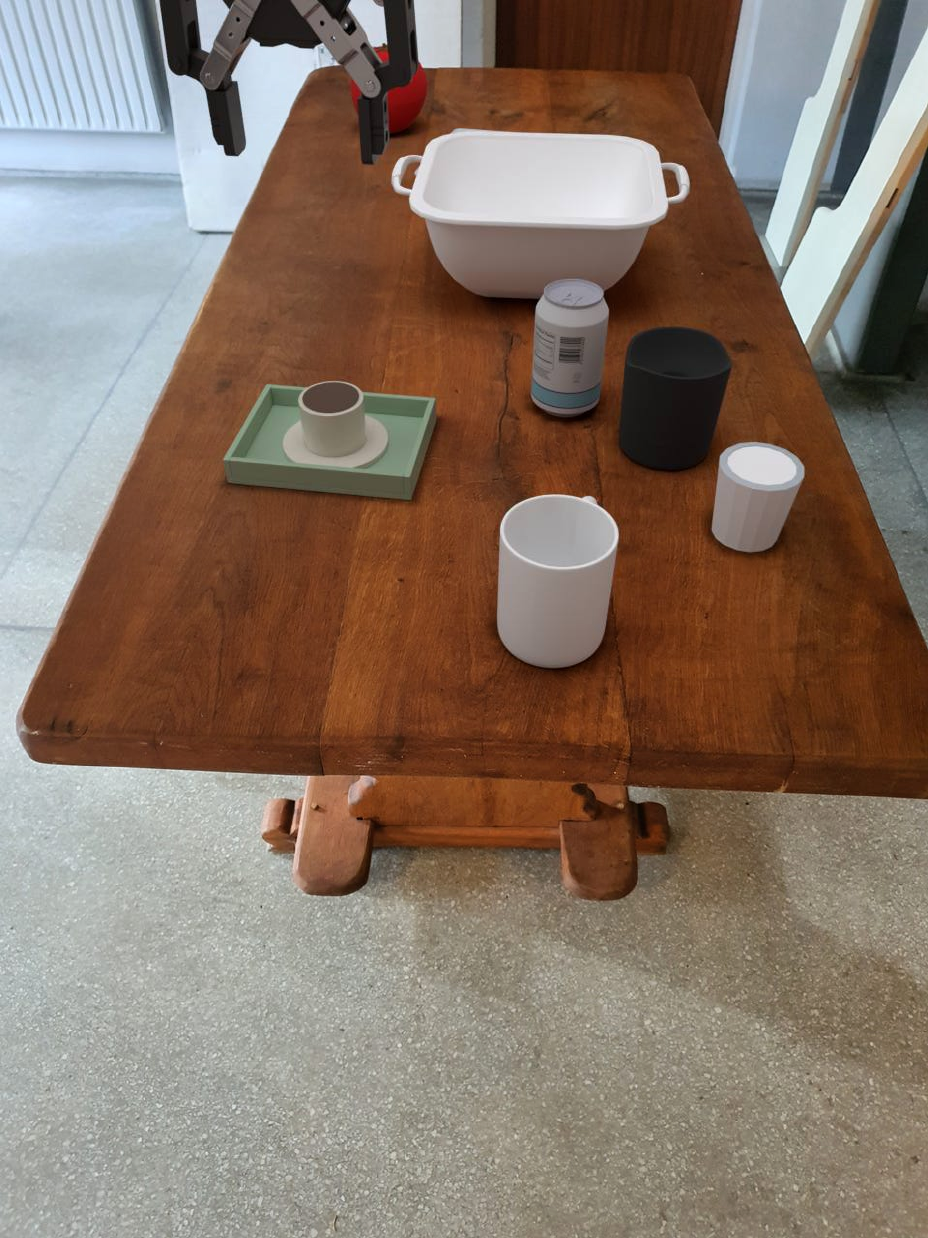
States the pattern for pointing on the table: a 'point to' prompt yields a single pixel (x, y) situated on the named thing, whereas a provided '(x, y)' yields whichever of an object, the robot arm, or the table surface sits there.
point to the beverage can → (569, 347)
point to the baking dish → (537, 206)
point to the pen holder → (672, 396)
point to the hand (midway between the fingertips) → (303, 156)
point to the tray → (391, 477)
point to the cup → (555, 578)
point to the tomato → (399, 97)
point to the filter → (335, 428)
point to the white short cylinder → (754, 495)
